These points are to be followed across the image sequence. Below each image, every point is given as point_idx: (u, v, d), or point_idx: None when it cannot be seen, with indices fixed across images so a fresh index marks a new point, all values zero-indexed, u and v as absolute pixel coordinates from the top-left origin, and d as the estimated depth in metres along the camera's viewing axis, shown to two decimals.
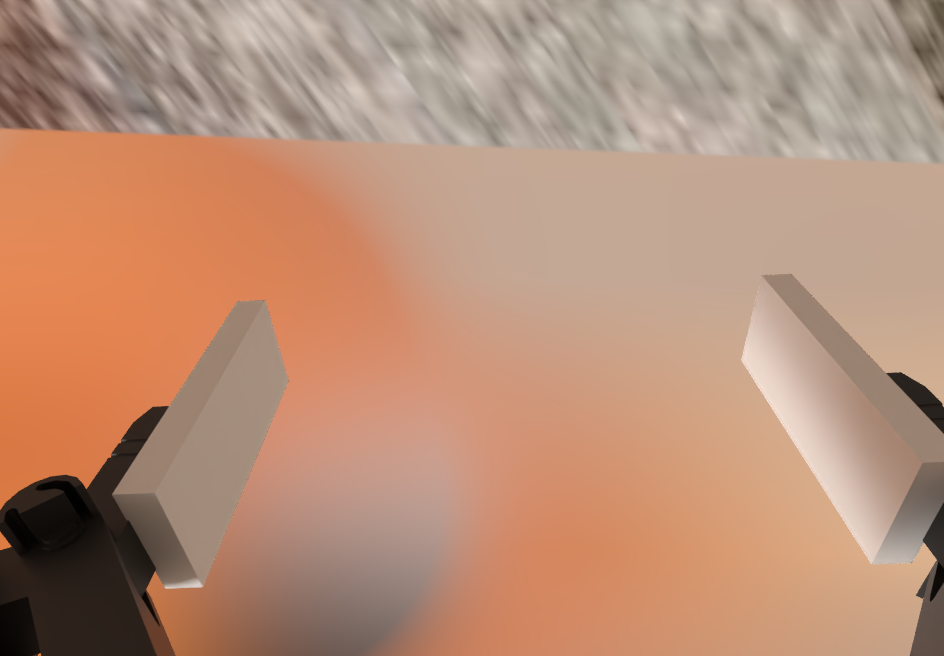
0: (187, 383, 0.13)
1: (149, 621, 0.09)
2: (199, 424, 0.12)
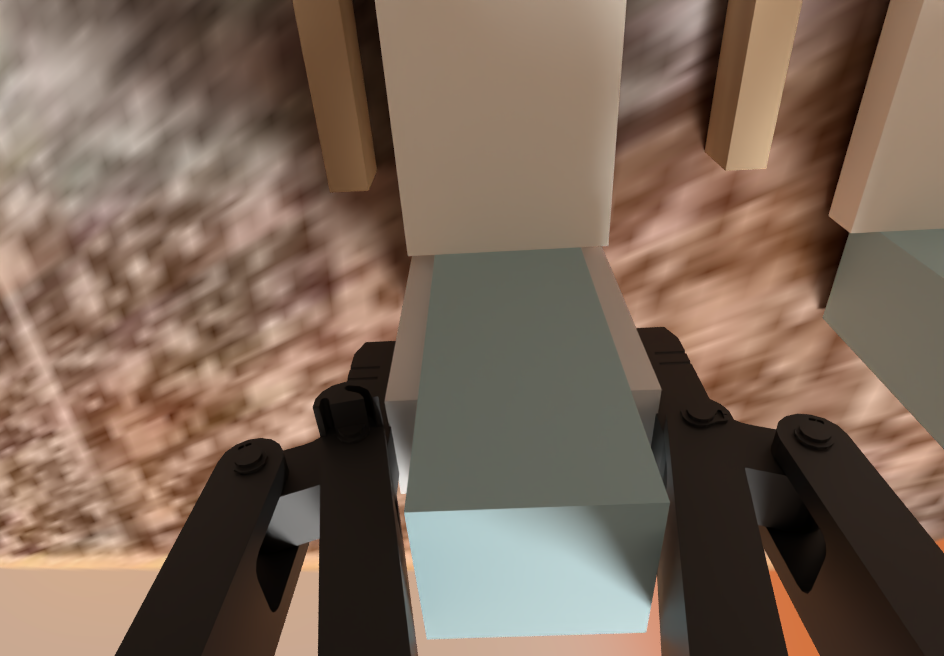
0: (400, 320, 0.15)
1: (398, 532, 0.10)
2: None
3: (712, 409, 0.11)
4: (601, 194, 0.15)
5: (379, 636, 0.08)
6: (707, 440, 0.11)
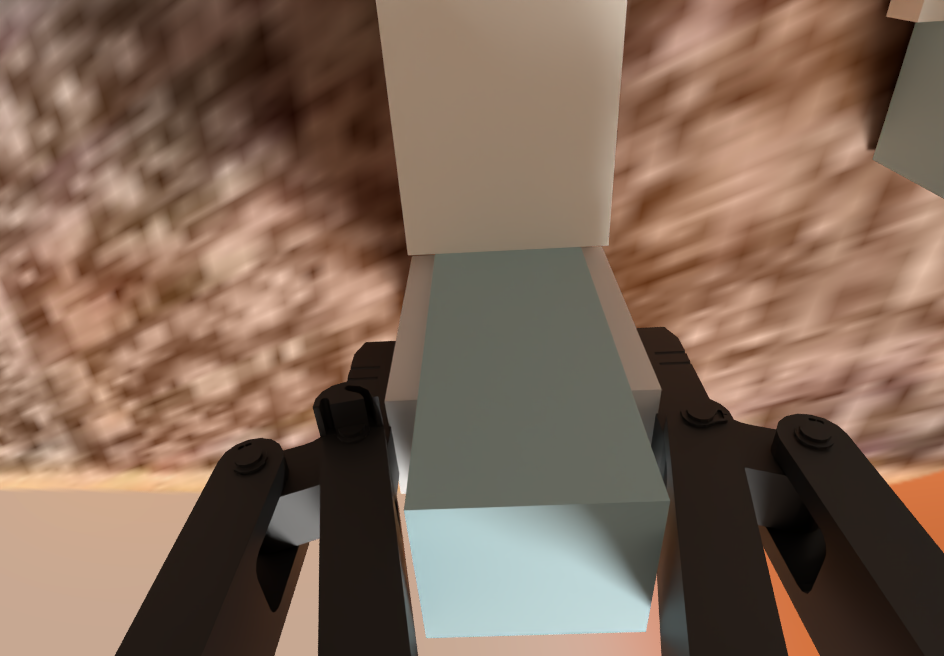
0: (400, 320, 0.15)
1: (398, 532, 0.10)
2: None
3: (712, 409, 0.11)
4: (601, 194, 0.15)
5: (379, 636, 0.08)
6: (707, 440, 0.11)
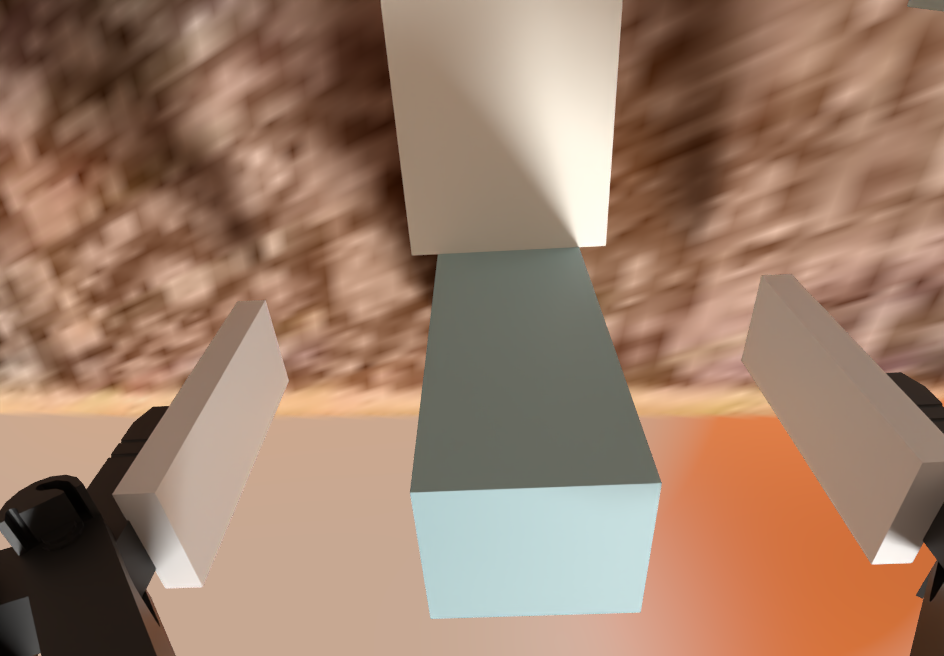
0: (187, 383, 0.13)
1: (149, 621, 0.09)
2: (199, 424, 0.12)
3: None
4: (598, 195, 0.16)
5: None
6: None
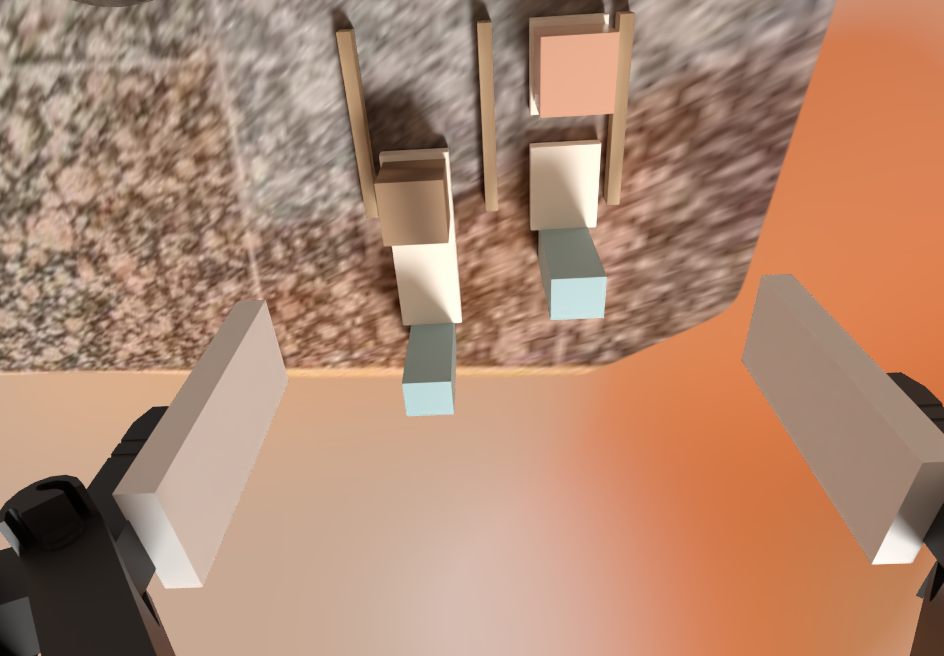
0: (187, 383, 0.13)
1: (149, 621, 0.09)
2: (199, 424, 0.12)
3: None
4: (457, 309, 0.55)
5: None
6: None
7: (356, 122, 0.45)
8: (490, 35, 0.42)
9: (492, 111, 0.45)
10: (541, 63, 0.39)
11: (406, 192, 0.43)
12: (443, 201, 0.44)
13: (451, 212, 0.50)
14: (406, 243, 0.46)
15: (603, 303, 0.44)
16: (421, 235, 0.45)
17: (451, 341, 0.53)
